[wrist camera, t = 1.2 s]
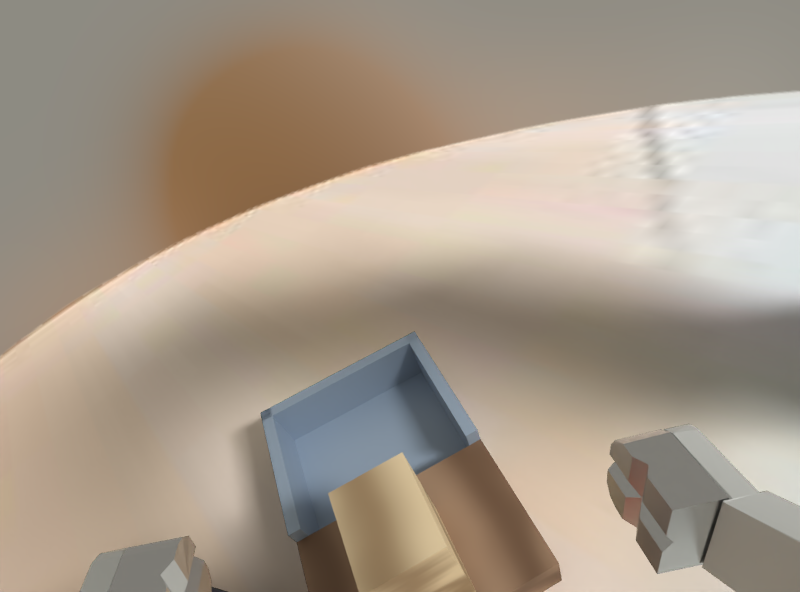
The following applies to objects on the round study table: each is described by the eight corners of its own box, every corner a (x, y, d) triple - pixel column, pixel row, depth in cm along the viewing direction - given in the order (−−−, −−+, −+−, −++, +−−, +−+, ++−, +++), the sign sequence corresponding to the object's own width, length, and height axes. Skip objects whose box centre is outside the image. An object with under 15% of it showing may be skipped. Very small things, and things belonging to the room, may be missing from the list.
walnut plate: (487, 461, 41) (480, 439, 38) (561, 580, 34) (558, 563, 31) (317, 558, 39) (296, 542, 37) (356, 704, 32) (333, 698, 29)
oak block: (435, 508, 35) (402, 451, 29) (476, 591, 31) (447, 546, 25) (375, 543, 35) (328, 493, 29) (407, 632, 31) (360, 597, 24)
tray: (428, 365, 50) (414, 331, 46) (487, 461, 41) (477, 429, 37) (286, 441, 48) (260, 412, 44) (317, 558, 39) (288, 535, 35)
